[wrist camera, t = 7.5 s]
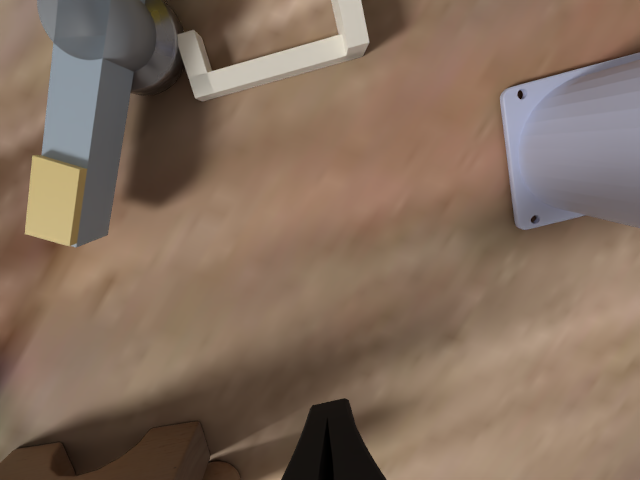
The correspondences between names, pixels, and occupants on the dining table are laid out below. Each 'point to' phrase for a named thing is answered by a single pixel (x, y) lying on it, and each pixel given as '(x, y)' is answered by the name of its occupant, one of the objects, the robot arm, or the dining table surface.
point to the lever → (85, 114)
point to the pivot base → (160, 53)
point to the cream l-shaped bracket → (275, 56)
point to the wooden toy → (128, 460)
